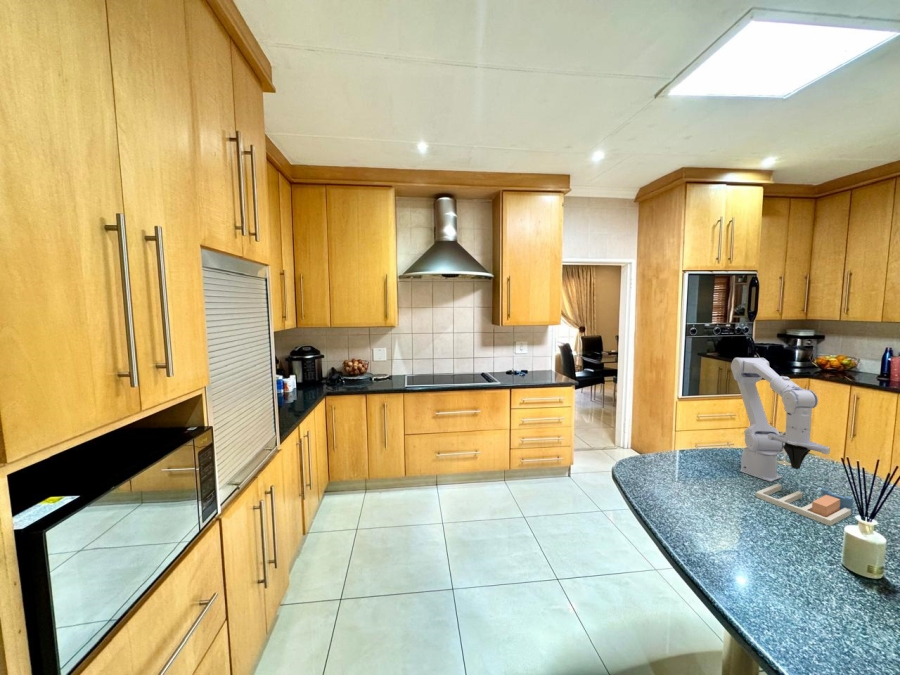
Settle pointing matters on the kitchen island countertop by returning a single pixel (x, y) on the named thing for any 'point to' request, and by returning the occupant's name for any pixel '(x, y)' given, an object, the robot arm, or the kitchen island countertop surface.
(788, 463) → the wineglass
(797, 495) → the comb organizer
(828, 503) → the tall peach block
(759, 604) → the kitchen island countertop surface
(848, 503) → the blue bracket
